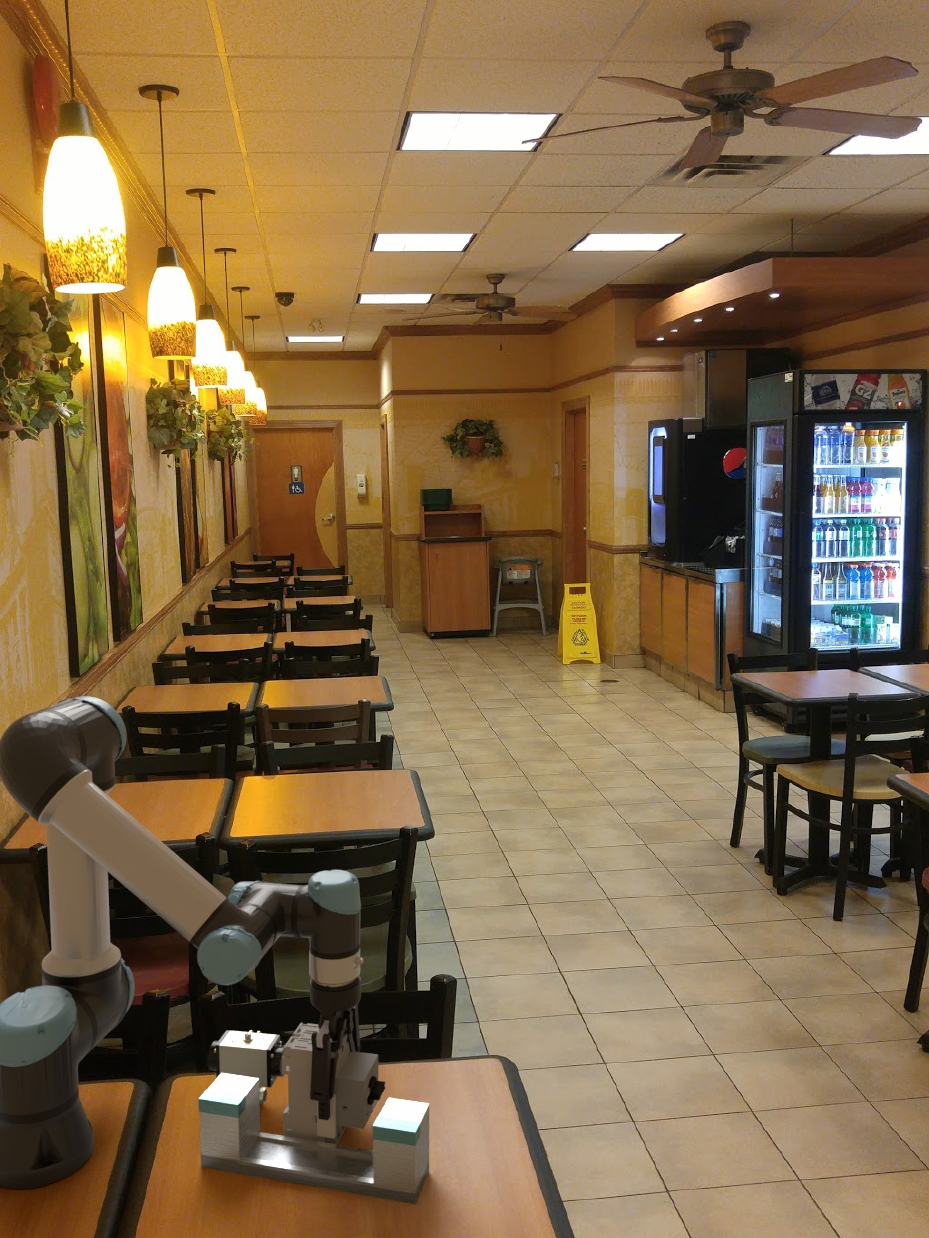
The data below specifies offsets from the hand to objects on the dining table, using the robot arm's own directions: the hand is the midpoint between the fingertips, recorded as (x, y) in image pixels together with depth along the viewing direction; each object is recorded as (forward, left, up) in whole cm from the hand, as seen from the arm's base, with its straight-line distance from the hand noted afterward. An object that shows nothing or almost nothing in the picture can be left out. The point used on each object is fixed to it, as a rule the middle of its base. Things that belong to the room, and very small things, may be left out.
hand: (336, 1119), depth 164 cm
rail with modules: (0, -9, -2) cm, 9 cm away
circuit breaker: (0, 0, -2) cm, 2 cm away
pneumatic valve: (-16, +4, -2) cm, 17 cm away
